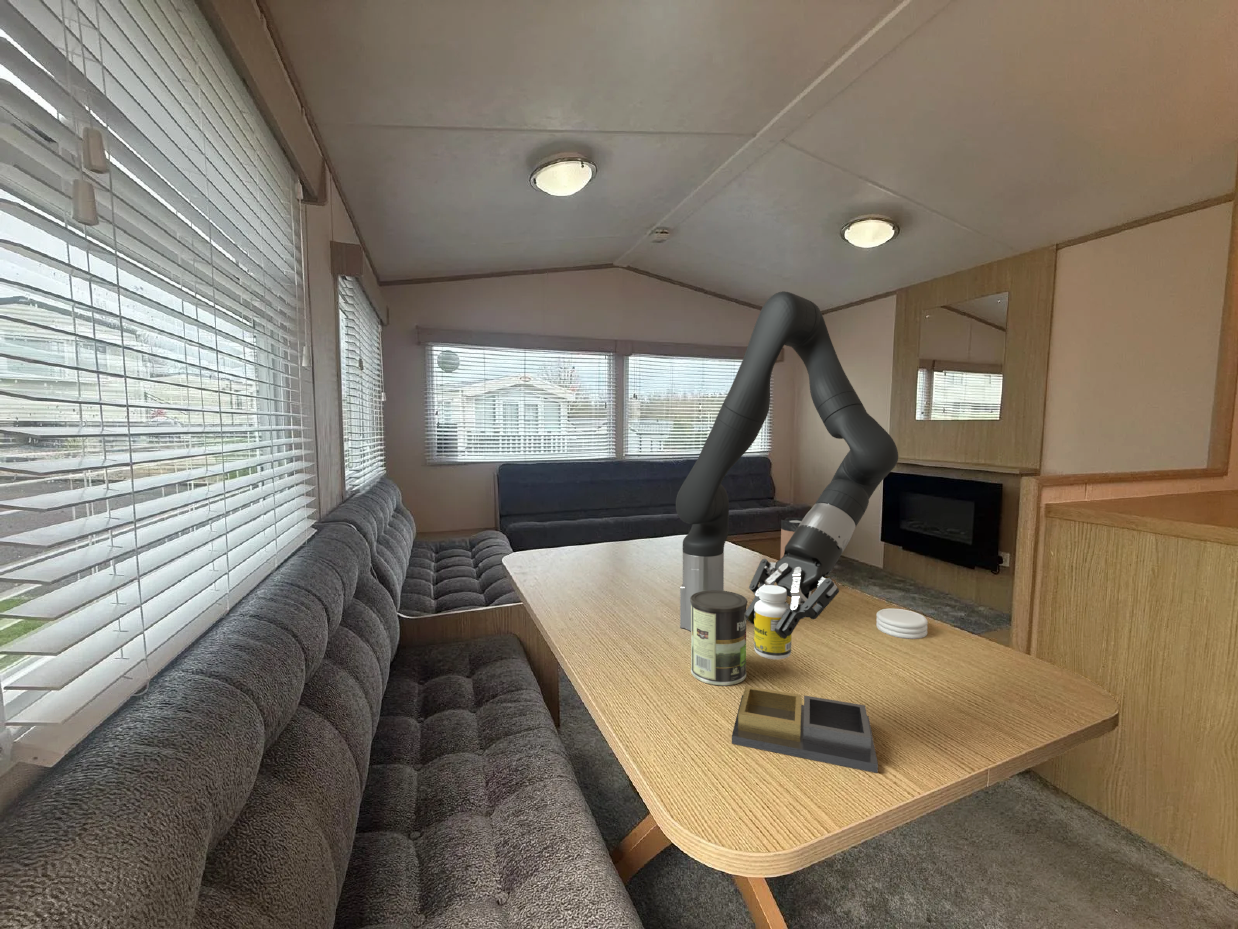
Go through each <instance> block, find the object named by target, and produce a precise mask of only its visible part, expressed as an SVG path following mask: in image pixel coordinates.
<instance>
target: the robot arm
mask: <svg viewBox="0 0 1238 929" xmlns="http://www.w3.org/2000/svg"><path fill="white" fill-rule="evenodd" d="M784 346H786V347H790V348H792V349H793V350H794V351H795V352H796V354H797V356H798V357H799V358H800V359H801V361H802V362H803V364H804V366H805V368H806V371H807V374H808V375H807V376H808V382H809V390H810V397H811V399H812V403H813V406H814V407H815V410H816V412H817V413H818V416H819V418H820V419H821V421H822V423H823V425H824V427H825V429H826V430H827V432H828V433H829V434H830V436H831V437H832V438H834V439H838V440H844V441H845V443H846V444H847V446H848V448H849V450H848V452H847V453H846V454H845V456H844V458H843V459H842V461H841V462H840V464H839V466H838V468H837V470H836V471H835V473H834V475H833V477H832V478H831V481H830V482H829V484H828V485H827V486H826V487H825V488H824V489H823V491H822V492H821V494H820V495H819V497H818V498H817V500H816V502H815V503H814V504H813V506H812V507H811V509H810V510H809V511H808V512H807V513H806V514H805V516H804V517H803V520H802V522H801V523H800V525H799V526H798V528H797V529H796V531H795V532H794V534H793V535H792V537H791V538H790V540H789V541H788V543H787V544H786V546H785V552H784V556H783V557H782V558H781V559H780V558H779V559H778V560H777V561H776V562H770V561H769V560H768V559H767V558H762V559H761V560H760V561H759V564H758V566H757V568H756V571H755V573H754V574H753V577H752V579H751V581H750V583H749V586H748V589H749V590H750V591H751V592H752V593H753V595H754V598H753V600H752V601H751V602H750V604H749V606H748V607H747V608H746V613H745V614H746V615H745V618H746V621H747V622H749V623H750V624H751V625H753V626H754V606H755V603H756V602H757V601H759V600H761V599H760V598H759V588H760V587H761V586H765V585H775V584H776V586H780V587H783V588H785V589H786V590H787V593H791V596H790V597H791V599H790V604H789V605H790V610H788V609H787V610H786V611H785V613H784V615H783V616H782V618H781V619H780V621H779V623H778V624H777V626H776V627H775V632H776V633H777V634H778V635H779V636H780V637H781V638H783V639H786V638H787V636H790V635H791V636H792V634H793V632H794V630H795V629H796V627H797V625H798V624H799V622H800V620H803V619H804V618H810V620H816V619H817V618H818V617H819V616H820V615H821V614H822V613H823V611H825V609H826V607H828V605H829V604H831V602H832V601H833V600H834V598H836V597H837V595H838V594H839V592H840V589H839V587H838V586H837V585H836V583H835V582H834V581H833V580H832V579H831V578H829V577H827V576H828V575H830V574H831V573H832V570H833V569H834V567H835V566H836V564H837V562H838V561H839V559H840V557H841V555H842V554H843V552H844V551H845V550H846V547H847V546H848V544H849V542H850V541H851V539H852V537H853V534H854V531H855V530H856V528H857V526H858V524H859V522H860V521H861V519H862V517H864V515H865V513H866V511H867V509H868V506H869V503H870V498H871V497H872V495H873V494H874V492H875V491H876V489H877V488H878V486H879V485H880V484H881V483H882V481H883V480H884V479H885V478H887V477H888V475H889V474H890V473H891V472H892V471H893V469H894V468H896V466H897V464H898V462H899V452H898V447H897V445H896V443H895V440H894V439H893V438H892V436H891V435H890V434H889V432H888V431H886V429H884V427H883V426H882V425H881V424H880V423H879V422H878V421H877V420H876V419H875V418H874V417H872V416H871V415H870V414H869V413H868V412H867V410H866V407H865V406H864V404H863V402H862V401H861V399H860V397H859V396H858V394H857V392H856V389H855V388H854V387H853V385H852V383H851V382H850V380H849V378H848V375H847V374H846V372H845V371H844V369H843V366H842V364H841V362H840V360H839V358H838V355H837V352H836V350H835V346H834V344H833V342H832V339H831V337H830V334H829V330H828V327H827V324H826V321H825V318H824V316H823V313H822V312H821V310H820V308H819V306H818V305H817V304H816V303H814V302H813V301H812V300H810V299H807V298H804V297H803V296H800V295H797V294H795V293H792V292H789V291H779V292H776V293H774V294H773V295H771V296H770V297H769V298H768V299H767V300H766V301H765V303H764V305H763V306H762V308H761V309H760V311H759V314H758V317H757V318H756V322H755V324H754V328H753V330H752V333H751V336H750V339H749V342H748V344H747V346H746V350H745V354H744V356H743V358H742V362H741V363H740V365H739V367H738V370H737V372H736V375H735V377H734V379H733V382H732V385H731V387H730V389H729V391H728V393H727V395H726V397H725V399H724V400H723V403H722V404H721V407H720V408H719V411H718V413H717V415H716V418H715V420H714V423H713V426H712V428H711V429H710V431H709V433H708V436H707V437H706V440H705V442H704V444H703V447H702V449H701V451H700V453H699V456H698V457H697V460H696V461H695V463H694V465H692V466H693V467H692V468H691V470H690V471H689V473H688V475H687V476H686V478H685V479H684V481H683V483H682V485H681V486H680V488H679V490H678V492H677V495H676V498H675V510H676V514H677V516H678V517H679V519H680V520H681V521H682V522H683V523H686V524H688V525H689V524H690V525H691V528H690V530H689V532H688V533H687V534H686V536H685V537H684V538H683V539H682V584H681V585H680V588H679V589H680V590H679V594H680V595H679V596H680V597H679V598H680V599H679V603H680V604H679V605H680V606H679V607H680V608H679V610H680V611H679V612H680V613H679V614H680V615H679V618H680V620H679V628H682V629H686V630H687V631H690V632H691V602H690V597H691V596H692V595H693V594H695V593H697V592H701V591H709V590H721V591H725V590H724V589H725V588H724V586H725V585H724V584H725V583H724V582H725V580H724V579H725V578H724V574H725V567H724V566H725V559H724V558H725V544H726V542H727V538H728V534H729V516H730V515H729V514H730V502H729V497H728V492H727V490H726V487H724V486H723V485H722V482H723V481H724V478H725V477H726V476H727V474H728V472H729V471H730V469H732V468H733V466H735V465H736V463H737V462H738V461H739V460H740V459H741V458H742V457H743V456H744V454H745V453H746V452H747V451H748V450H749V449H750V448H751V446H752V444H753V443H755V441H756V439H757V437H758V435H759V433H760V432H761V429H762V427H763V425H764V423H765V421H766V419H767V417H768V414H769V410H770V408H771V406H770V405H771V381H772V379H771V378H772V373H773V369H774V367H775V364H776V362H777V360H778V358H779V355H781V354H780V353H781V351H782V350H783V347H784ZM826 577H827V578H826ZM812 591H813V592H812Z"/></svg>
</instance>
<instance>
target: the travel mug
mask: <svg viewBox="0 0 1238 929" xmlns="http://www.w3.org/2000/svg"><path fill="white" fill-rule="evenodd" d="M803 518H804V517H803ZM803 518H802V517H786V518H785V519H784V520H783V519H781V522H780V527H781V528H780V530H781V531H780V556H779V560H780V559H781V558H782V557H783V556H784V552H785V546H786V544H787V543H788V541H789V540H790V538H791V537H792V535H793V534H794V532H795V531H796V529H797V528H798V526H799V525H800V523H801V522H802V520H803ZM787 597H792V596H791V593H787Z"/></svg>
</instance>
